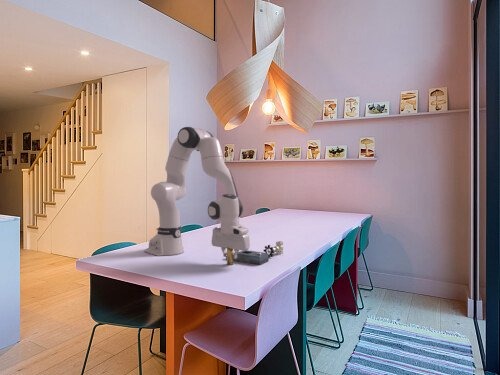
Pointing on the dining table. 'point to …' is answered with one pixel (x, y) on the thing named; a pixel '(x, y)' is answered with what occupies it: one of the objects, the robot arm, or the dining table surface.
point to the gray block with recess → (251, 257)
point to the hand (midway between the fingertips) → (230, 257)
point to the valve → (274, 249)
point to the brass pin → (229, 256)
